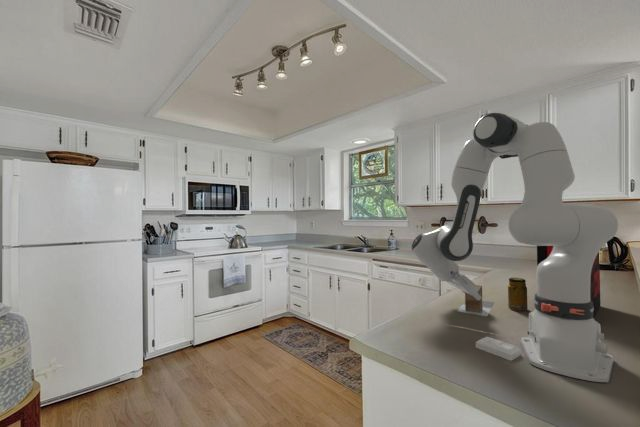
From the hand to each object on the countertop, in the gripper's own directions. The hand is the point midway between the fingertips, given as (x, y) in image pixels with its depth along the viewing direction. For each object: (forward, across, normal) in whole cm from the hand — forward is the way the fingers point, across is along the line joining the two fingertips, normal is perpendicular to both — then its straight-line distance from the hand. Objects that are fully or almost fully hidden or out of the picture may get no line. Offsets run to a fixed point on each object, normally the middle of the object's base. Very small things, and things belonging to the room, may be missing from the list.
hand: (472, 295), depth 110 cm
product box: (+30, 0, -22) cm, 37 cm away
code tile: (+5, 0, +4) cm, 6 cm away
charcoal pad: (+10, +8, -1) cm, 13 cm away
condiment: (+17, -1, -8) cm, 19 cm away
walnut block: (+4, 0, +4) cm, 6 cm away
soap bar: (-3, -32, +12) cm, 34 cm away
